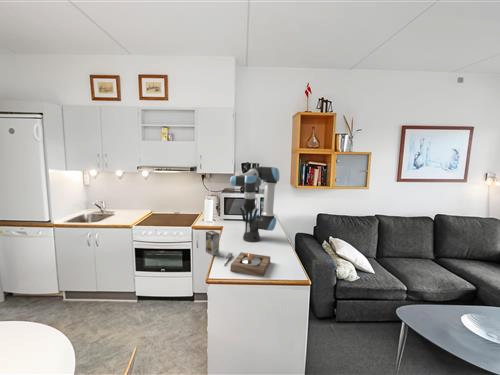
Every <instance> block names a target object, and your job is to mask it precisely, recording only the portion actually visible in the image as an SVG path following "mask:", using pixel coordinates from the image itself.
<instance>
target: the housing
mask: <svg viewBox="0 0 500 375" xmlns="http://www.w3.org/2000/svg"><path fill="white" fill-rule="evenodd" d="M248 254H252V257H257V258H259V259H260V260H261V264H260V266H253V265H247V264H242V259H243V258H245V257H248ZM270 264H271V256H269V255H264V254H263V255H262V254H255V253H249V252H241V251H240V252H239V254H238V255H237V256H236V258H235V259H234V260H233V261H232V262H231V263H230V272H234V273H240V274H247V275H252V276H258V277H264V276H265V275H266V272H267V269H268V268H269V267H270V266H269V265H270Z"/></svg>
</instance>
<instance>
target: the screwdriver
mask: <svg viewBox="0 0 500 375" xmlns="http://www.w3.org/2000/svg"><path fill="white" fill-rule="evenodd" d="M233 255H234V254H233V252H228V254H227V255H226V258H225V261H224V263H223V265H224V266H225V265H227V263H228V261H231V259H232V258H233Z"/></svg>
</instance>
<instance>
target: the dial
mask: <svg viewBox="0 0 500 375" xmlns="http://www.w3.org/2000/svg"><path fill="white" fill-rule="evenodd" d="M252 254H253V253H250V254H248V257H245V258H243V259H242V264H247V265H253V266H260V264H261V260H260V259H259V258H257V257H252Z"/></svg>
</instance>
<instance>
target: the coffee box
mask: <svg viewBox="0 0 500 375" xmlns="http://www.w3.org/2000/svg"><path fill="white" fill-rule="evenodd" d="M205 253H206V254H209V255H210V256H216V255H219V254H220V233H219V232H216V231H215V230H209V231H206V232H205Z"/></svg>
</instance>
